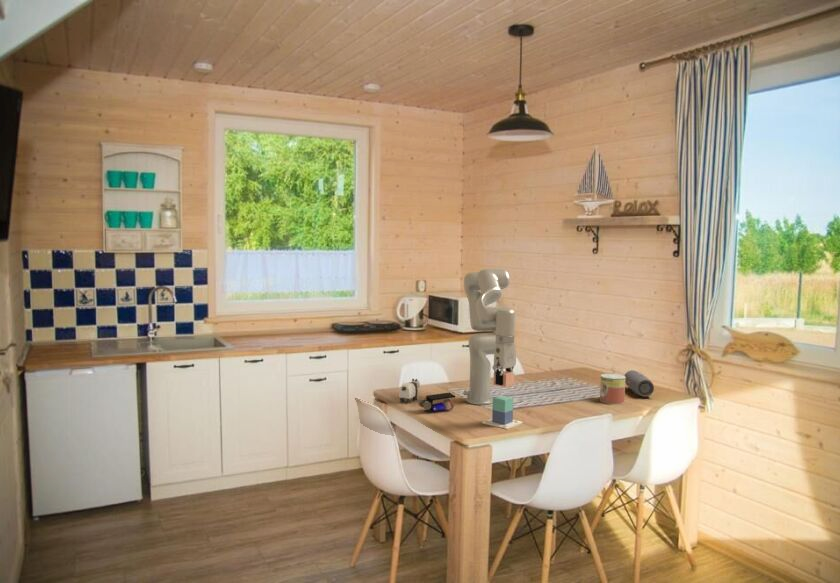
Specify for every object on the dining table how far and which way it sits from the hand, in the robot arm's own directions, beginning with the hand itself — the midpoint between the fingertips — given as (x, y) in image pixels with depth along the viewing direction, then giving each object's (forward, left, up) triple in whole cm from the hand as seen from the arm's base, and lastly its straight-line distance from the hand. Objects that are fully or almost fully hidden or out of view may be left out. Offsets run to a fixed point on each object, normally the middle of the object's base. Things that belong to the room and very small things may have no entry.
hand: (503, 383), depth 266 cm
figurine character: (-31, -3, -17) cm, 36 cm away
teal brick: (0, 0, -11) cm, 11 cm away
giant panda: (-52, +3, -17) cm, 55 cm away
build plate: (0, 0, -17) cm, 17 cm away
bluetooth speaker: (+21, +91, -17) cm, 95 cm away
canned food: (+18, +67, -17) cm, 72 cm away
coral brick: (0, 0, -1) cm, 1 cm away
